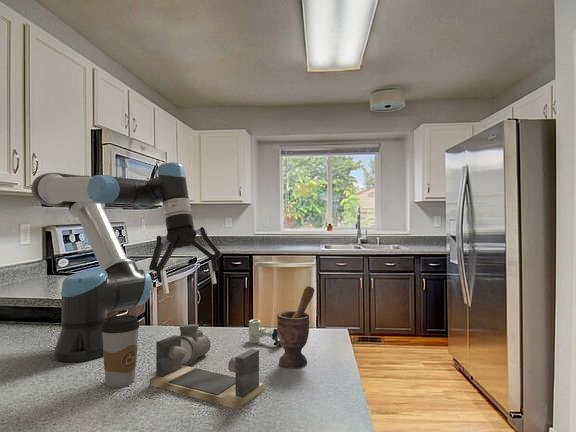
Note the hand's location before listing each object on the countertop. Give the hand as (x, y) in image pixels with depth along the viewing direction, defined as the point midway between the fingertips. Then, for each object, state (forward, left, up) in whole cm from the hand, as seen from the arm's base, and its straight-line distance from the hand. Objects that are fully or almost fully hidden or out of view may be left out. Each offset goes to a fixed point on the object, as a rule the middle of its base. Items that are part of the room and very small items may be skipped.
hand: (190, 288), depth 107 cm
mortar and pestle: (+28, +11, -19) cm, 36 cm away
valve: (+12, +21, -20) cm, 31 cm away
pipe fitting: (+2, -1, -20) cm, 20 cm away
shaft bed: (+17, -13, -19) cm, 29 cm away
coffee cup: (-3, -20, -19) cm, 28 cm away
